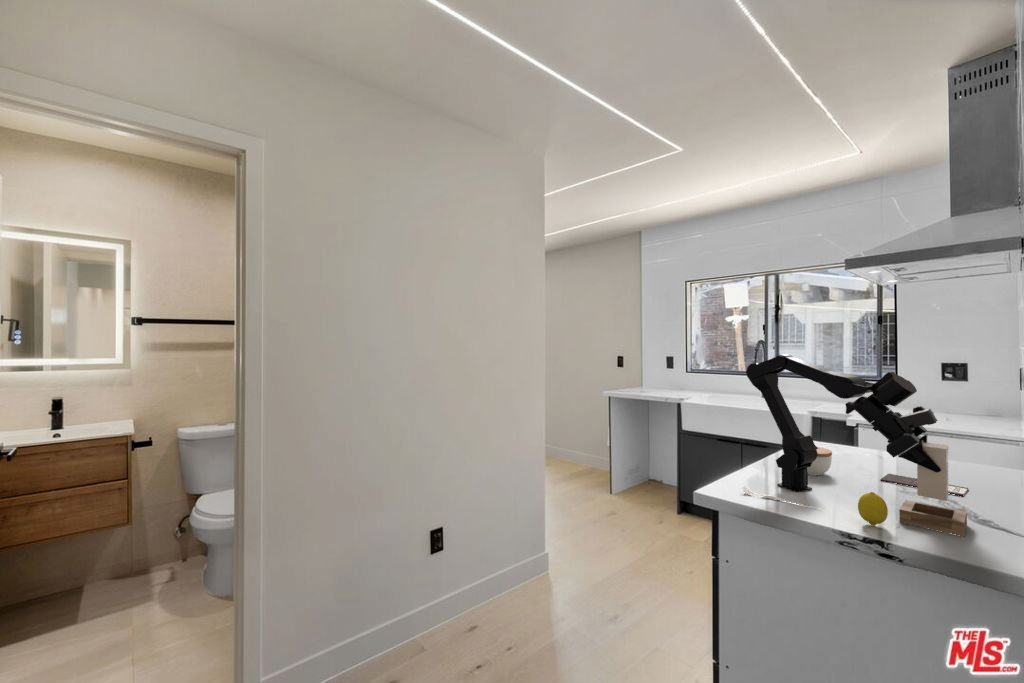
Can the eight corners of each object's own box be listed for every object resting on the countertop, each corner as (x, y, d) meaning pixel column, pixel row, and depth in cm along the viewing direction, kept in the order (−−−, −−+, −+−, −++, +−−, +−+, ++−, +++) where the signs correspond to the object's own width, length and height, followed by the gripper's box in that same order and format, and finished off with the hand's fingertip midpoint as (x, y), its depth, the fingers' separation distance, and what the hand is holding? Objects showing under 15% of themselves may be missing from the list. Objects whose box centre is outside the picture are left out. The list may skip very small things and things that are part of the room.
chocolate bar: (888, 473, 143) (968, 488, 129) (888, 476, 143) (968, 491, 129) (880, 479, 138) (962, 495, 123) (880, 482, 138) (962, 498, 123)
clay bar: (946, 500, 103) (946, 449, 103) (917, 495, 107) (917, 445, 107) (948, 495, 107) (948, 445, 106) (920, 490, 110) (919, 441, 110)
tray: (964, 537, 100) (964, 522, 100) (899, 522, 108) (899, 509, 108) (967, 525, 106) (966, 511, 106) (905, 512, 114) (905, 499, 114)
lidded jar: (785, 471, 150) (785, 443, 149) (806, 466, 154) (805, 439, 154) (819, 480, 140) (818, 450, 140) (839, 475, 144) (839, 446, 144)
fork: (823, 515, 115) (823, 508, 115) (740, 494, 129) (740, 488, 129) (825, 511, 117) (826, 504, 117) (744, 492, 131) (744, 485, 131)
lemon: (879, 532, 103) (879, 497, 103) (852, 523, 108) (852, 490, 108) (893, 527, 105) (892, 493, 105) (866, 519, 110) (866, 486, 110)
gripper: (904, 400, 103) (973, 457, 95) (915, 392, 116) (976, 442, 108) (861, 429, 109) (923, 485, 101) (876, 419, 122) (932, 467, 114)
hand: (940, 469), depth 106 cm, fingers closed on clay bar, 5 cm apart
